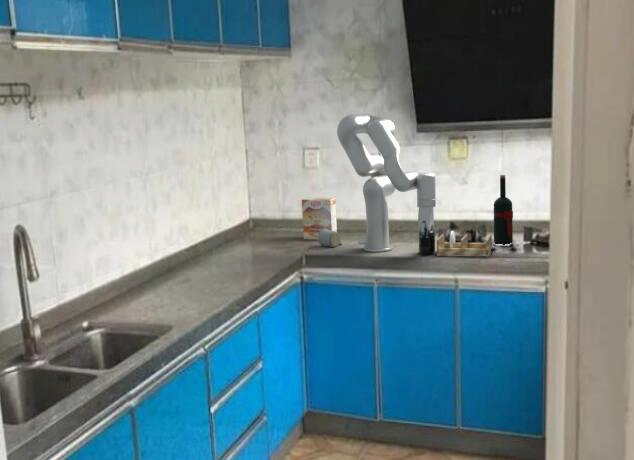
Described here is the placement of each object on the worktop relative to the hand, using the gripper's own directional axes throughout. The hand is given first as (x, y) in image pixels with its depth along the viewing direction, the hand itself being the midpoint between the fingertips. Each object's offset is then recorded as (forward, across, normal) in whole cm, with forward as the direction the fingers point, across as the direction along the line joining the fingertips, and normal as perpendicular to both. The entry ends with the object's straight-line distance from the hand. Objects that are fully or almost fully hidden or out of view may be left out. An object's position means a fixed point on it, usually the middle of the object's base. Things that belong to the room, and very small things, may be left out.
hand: (426, 245), depth 299 cm
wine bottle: (+3, -19, +30) cm, 35 cm away
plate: (+3, -1, +11) cm, 11 cm away
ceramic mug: (+4, -10, -46) cm, 47 cm away
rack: (+3, -1, +16) cm, 16 cm away
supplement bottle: (+3, 0, 0) cm, 3 cm away
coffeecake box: (+5, -26, -58) cm, 63 cm away
